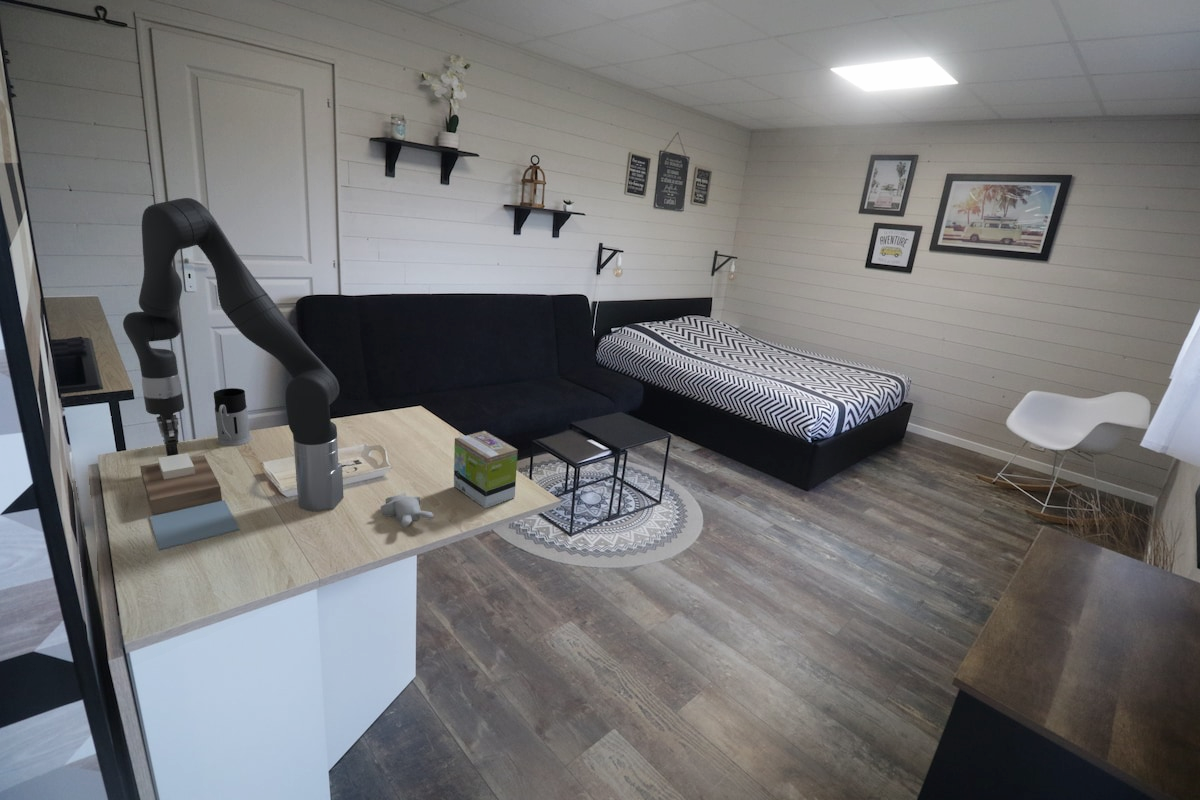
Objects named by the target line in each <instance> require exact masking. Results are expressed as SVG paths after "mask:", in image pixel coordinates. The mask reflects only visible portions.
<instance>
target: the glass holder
mask: <svg viewBox="0 0 1200 800" xmlns="http://www.w3.org/2000/svg"><path fill="white" fill-rule="evenodd" d="M245 391H246V390H245V389H242V388H236V387H235V388H234V387H233V388H223V389H218V390H216V391H214V392H213V401H214V415H215V422H216V430H217V440H216V445H219V446H222V447H237V446H238V447H239V446H243V445H246V444H249V443H250V442H251V441H252V440H253V438H252V436H251V432H250V422H249V412H248V405H247V401H246V392H245Z"/></svg>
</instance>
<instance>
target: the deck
mask: <svg viewBox="0 0 1200 800" xmlns="http://www.w3.org/2000/svg"><path fill="white" fill-rule="evenodd" d="M190 459H191V461H192V463H193V465H194V470H195V474H191V475H185V476H180V477H175V478H169V479H164V478H163V475H162V472H161V469H160V467H159V462H156V463H150V464H145V465H140V473H141V474H140V475H141V479H142V482H143V483H142V484H143V486H144V490H145V493H146V496H147V500H148V503H149V508H150V511H151V514H152V515H151V516H155V515H159V514H164V513H169V512H173V511H178V510H182V509H187V508H191V507H196V506H200V505H205V504H209V503H214V502H218V501H223V498H222V497H223V496H222V489H221V485H220V483H219V481H218V479H217V477H216V475H215V473H214V471H213V469H212V468H211V466H210V464H209V462H208V459H207V458H206V456H205V455H198V456H190Z"/></svg>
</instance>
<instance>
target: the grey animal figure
mask: <svg viewBox="0 0 1200 800" xmlns="http://www.w3.org/2000/svg"><path fill="white" fill-rule="evenodd" d="M380 513H381V516H383V517H395V519H396V520H395V521H396V522H397V524H400V527H402V528H406V527H408V526H410V524H411V523H412V521H413V522H415V521H417V520H419V519H420V518H423V519H426V520H433V519H434V518H435V515H434V514H433V512H431V511H427V510H421V497H420V496H407V495H406V493H400V494H397V495H393V496H390V497H386V498H385V504H383V505H381V506H380Z"/></svg>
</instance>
